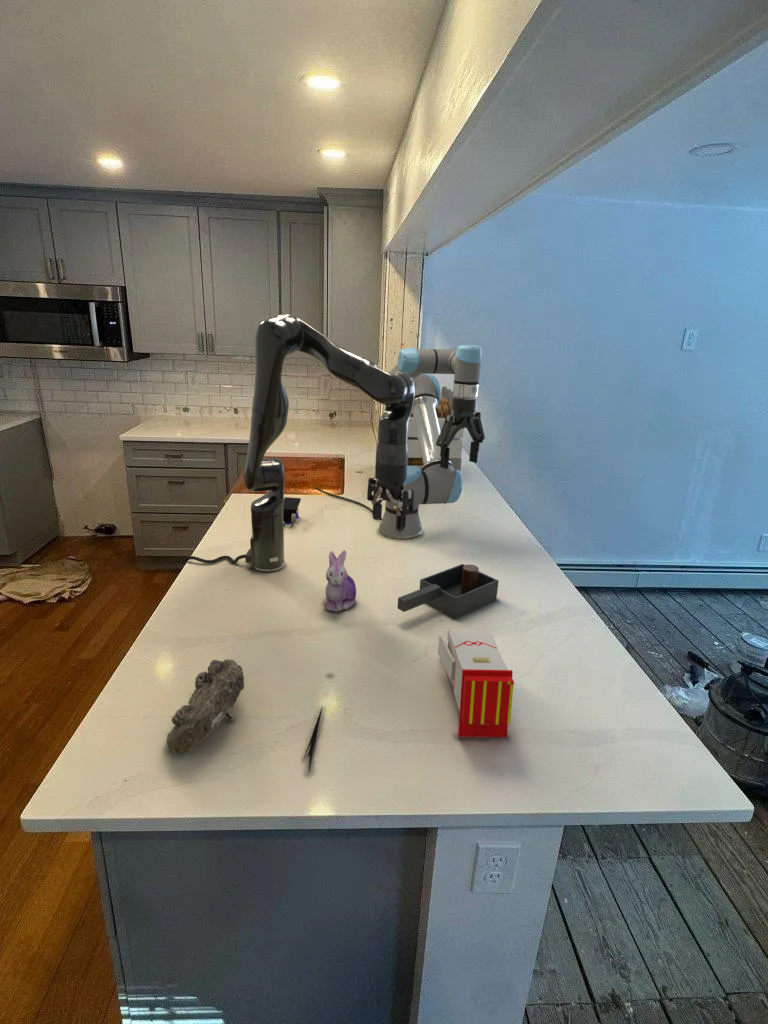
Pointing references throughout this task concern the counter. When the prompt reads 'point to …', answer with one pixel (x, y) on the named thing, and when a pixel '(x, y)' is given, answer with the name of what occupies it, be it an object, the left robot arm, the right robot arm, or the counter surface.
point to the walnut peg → (469, 578)
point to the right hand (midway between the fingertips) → (458, 464)
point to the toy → (478, 682)
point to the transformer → (441, 412)
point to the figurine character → (290, 510)
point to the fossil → (206, 705)
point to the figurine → (339, 584)
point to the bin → (451, 593)
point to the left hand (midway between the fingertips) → (388, 524)
